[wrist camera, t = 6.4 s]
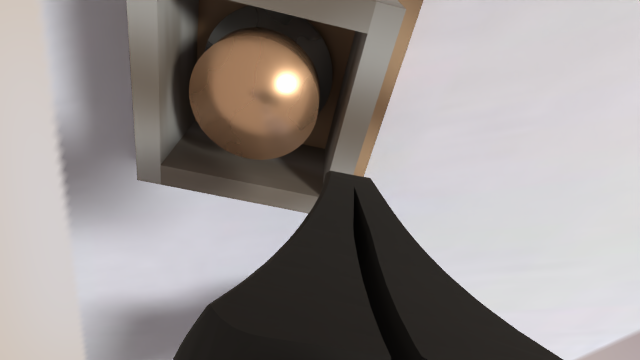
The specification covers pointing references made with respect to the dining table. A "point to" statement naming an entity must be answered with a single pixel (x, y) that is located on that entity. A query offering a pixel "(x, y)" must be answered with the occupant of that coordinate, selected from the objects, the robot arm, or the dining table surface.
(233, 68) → the plunger
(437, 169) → the dining table surface
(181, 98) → the base
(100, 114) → the dining table surface
